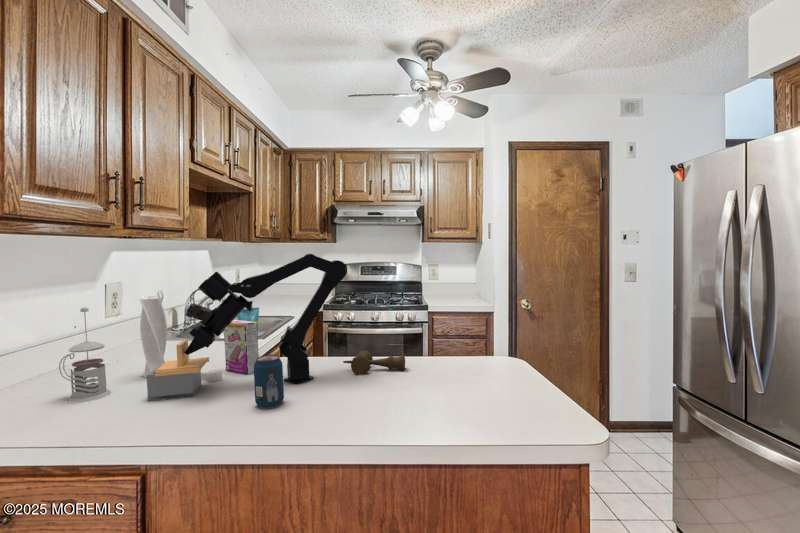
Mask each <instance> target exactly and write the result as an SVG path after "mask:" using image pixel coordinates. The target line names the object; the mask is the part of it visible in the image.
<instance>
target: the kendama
mask: <svg viewBox="0 0 800 533" xmlns="http://www.w3.org/2000/svg"><path fill="white" fill-rule="evenodd" d="M342 363H344V364H350V369H351V371H352V373H353V374H355V375H357V376H361V375H366V374H367V373H368V372H369V371H370V368H371V367H370V366H372V365H373V366H379V367H385V368H387V369H389V370H390V371H391V370H393V369H397V370H400V371H402V372H404V371H405V369H406V356H405V354H401V355H400V356H392V355H390V356H388V357H384V358H380V359H379V358H377V359H374V358H373V355H372V353H371V352H370V351H368V350H361V351H359V352H358V353H357V355H356V356H355V357H353V358H352V359H351V360H343V361H342Z"/></svg>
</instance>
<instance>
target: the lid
mask: <svg viewBox="0 0 800 533" xmlns="http://www.w3.org/2000/svg"><path fill="white" fill-rule="evenodd" d="M175 346H176V359H173V360H166V361H165V363H164V364H163V365H162V366H161V367H159V368H158V369H157V370H156V371H155V377H156V376H166V375H177V374H187V373H197V372H202V369H203V367H204V366H205V365H206V364H207V363H209V362H210V357H197V358H195V357H194V358H190V357H189V356H190V354H189V355H187V354H185V351H186V350H187V348H188V347H189V340H188V339H183V340H182V341H180V342H179V343H177V344H176V345H175Z"/></svg>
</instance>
